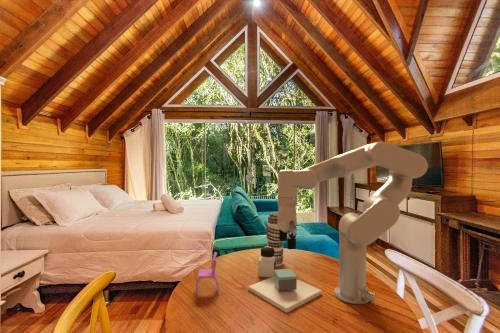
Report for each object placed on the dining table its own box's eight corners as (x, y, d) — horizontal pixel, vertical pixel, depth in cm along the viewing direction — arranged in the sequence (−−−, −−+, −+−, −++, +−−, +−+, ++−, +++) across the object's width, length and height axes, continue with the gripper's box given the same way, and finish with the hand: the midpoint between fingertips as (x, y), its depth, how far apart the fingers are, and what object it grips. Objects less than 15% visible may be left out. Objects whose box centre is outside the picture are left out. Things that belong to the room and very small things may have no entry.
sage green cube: (290, 281, 106) (290, 268, 106) (296, 289, 99) (296, 276, 99) (273, 282, 105) (274, 269, 105) (278, 290, 98) (278, 277, 98)
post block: (321, 294, 101) (321, 277, 101) (286, 312, 88) (286, 293, 88) (282, 276, 116) (283, 261, 116) (248, 289, 103) (248, 273, 103)
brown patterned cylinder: (273, 258, 138) (274, 210, 137) (287, 263, 131) (288, 213, 130) (261, 262, 132) (262, 213, 131) (275, 268, 125) (276, 216, 124)
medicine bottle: (274, 278, 114) (274, 251, 114) (257, 276, 115) (258, 249, 115) (275, 271, 121) (276, 245, 121) (260, 270, 122) (260, 244, 122)
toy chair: (197, 286, 105) (198, 249, 105) (219, 285, 106) (220, 249, 106) (195, 297, 97) (195, 257, 97) (219, 296, 98) (219, 256, 98)
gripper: (272, 198, 110) (271, 238, 110) (285, 205, 93) (285, 253, 93) (289, 197, 111) (288, 238, 111) (305, 204, 94) (305, 251, 95)
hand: (287, 244), depth 102 cm, fingers open, 9 cm apart
